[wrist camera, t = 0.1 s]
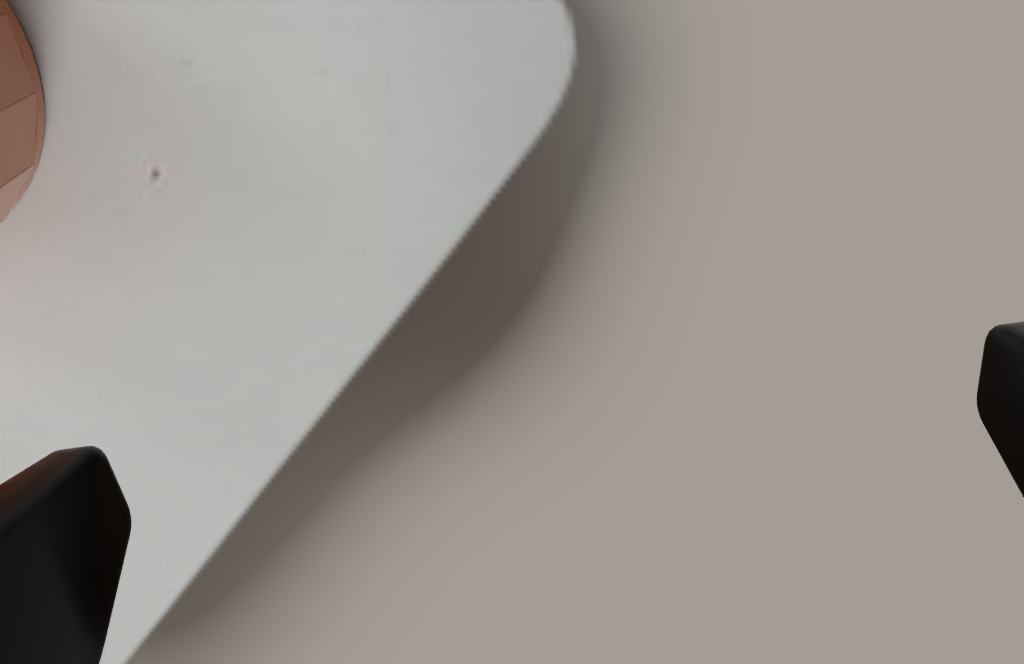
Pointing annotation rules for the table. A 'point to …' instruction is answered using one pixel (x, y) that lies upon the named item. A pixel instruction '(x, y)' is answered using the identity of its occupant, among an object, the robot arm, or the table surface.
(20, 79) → the cup
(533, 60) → the table surface
